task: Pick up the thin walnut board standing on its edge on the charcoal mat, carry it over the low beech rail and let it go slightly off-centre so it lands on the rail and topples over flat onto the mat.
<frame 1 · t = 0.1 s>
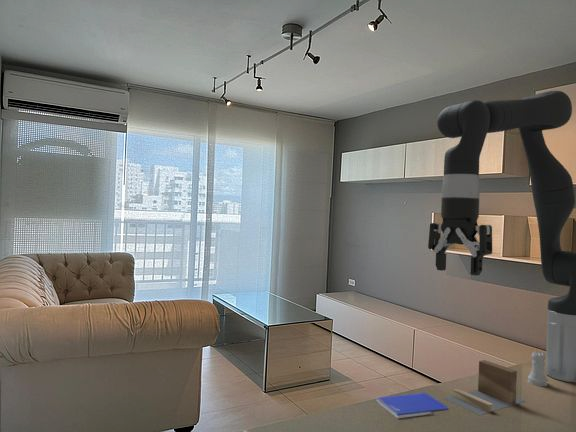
hand: (457, 272, 93), 29 cm above the countertop, tool pointing down, fingers open, 8 cm apart
charcoal mat: (485, 402, 97), on the countertop
rook chess piece: (537, 385, 109), on the countertop
hard drive: (411, 410, 93), on the countertop
walnut board: (496, 396, 99), resting on charcoal mat
beech rail: (471, 405, 95), resting on charcoal mat
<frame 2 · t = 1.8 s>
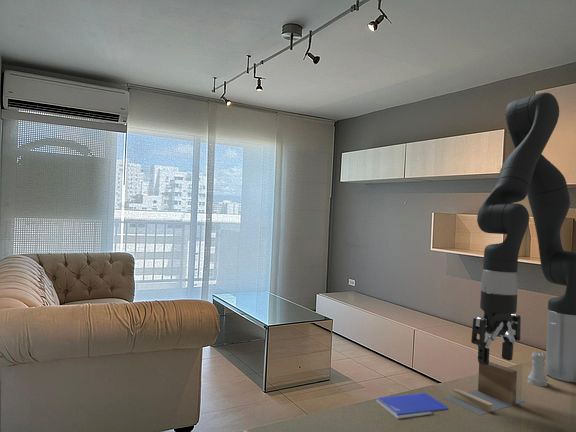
hand: (495, 361, 99), 8 cm above the countertop, tool pointing down, fingers open, 8 cm apart
nothing on the countertop moved.
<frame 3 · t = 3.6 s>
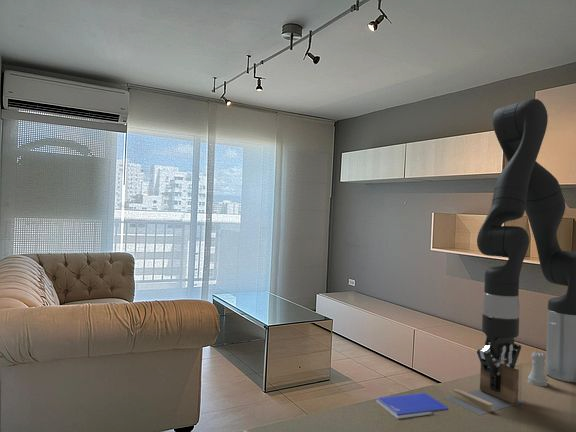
hand: (498, 389, 99), 2 cm above the countertop, tool pointing down, fingers closed on walnut board, 1 cm apart
walnut board: (498, 395, 99), point 1 cm above the countertop, touching gripper
everything else where it was.
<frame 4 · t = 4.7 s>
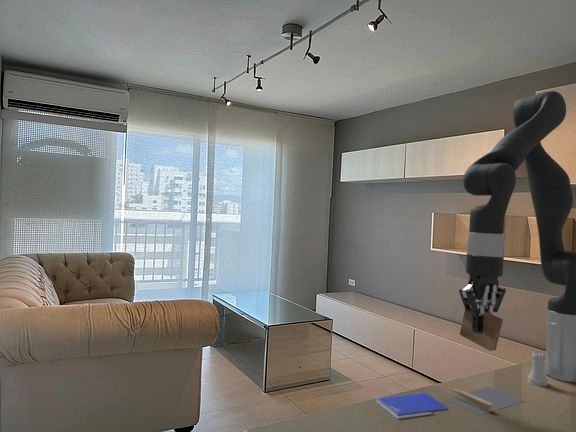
hand: (480, 331, 96), 16 cm above the countertop, tool pointing down, fingers closed on walnut board
walnut board: (477, 342, 97), point 13 cm above the countertop, tilted 11°, touching gripper
everything else where it was.
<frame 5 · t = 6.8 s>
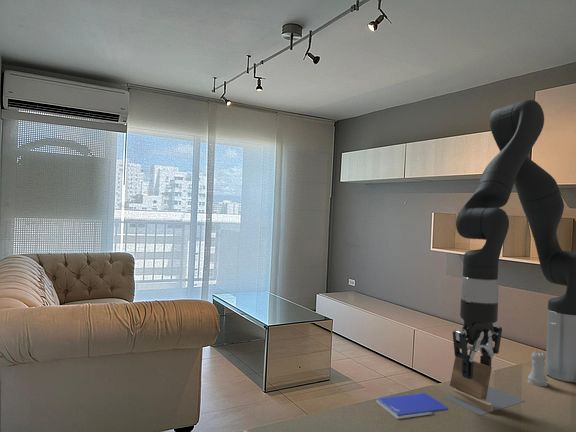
hand: (476, 375, 96), 6 cm above the countertop, tool pointing down, fingers open, 5 cm apart
walnut board: (467, 392, 97), point 2 cm above the countertop, tilted 14°, touching beech rail, gripper
everything else where it was.
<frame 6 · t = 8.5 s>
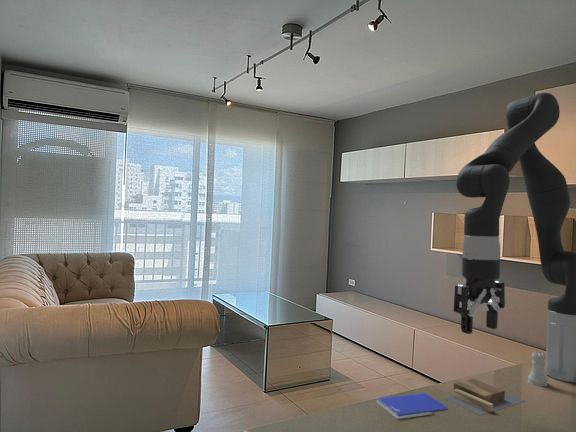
hand: (479, 330, 95), 16 cm above the countertop, tool pointing down, fingers open, 8 cm apart
walnut board: (468, 393, 98), point 1 cm above the countertop, tilted 90°, touching charcoal mat
everything else where it was.
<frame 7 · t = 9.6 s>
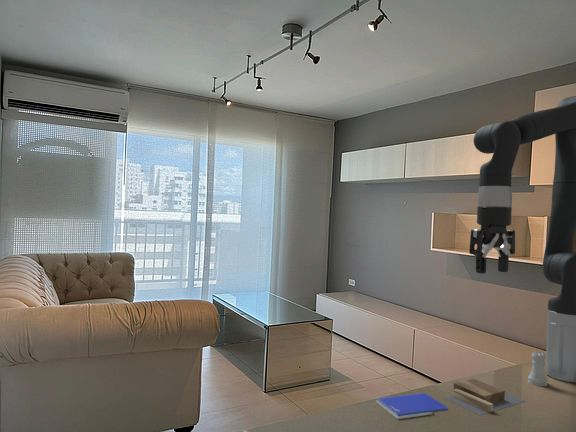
hand: (492, 272, 106), 28 cm above the countertop, tool pointing down, fingers open, 8 cm apart
nothing on the countertop moved.
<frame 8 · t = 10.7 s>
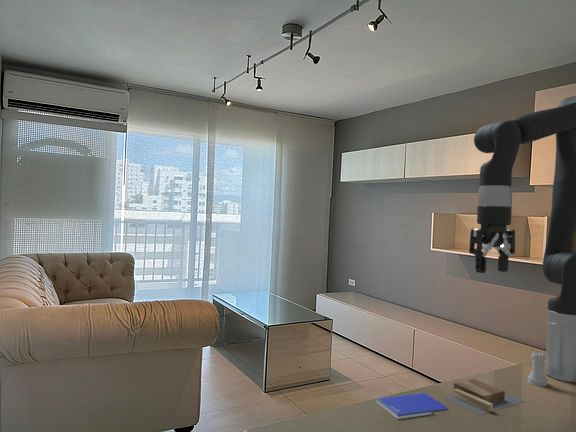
hand: (491, 272, 106), 28 cm above the countertop, tool pointing down, fingers open, 8 cm apart
nothing on the countertop moved.
at the end: walnut board tilted 90°; walnut board inside the target area (2.8 cm from its centre), point 1.5 cm above the countertop; the gripper is holding nothing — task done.
